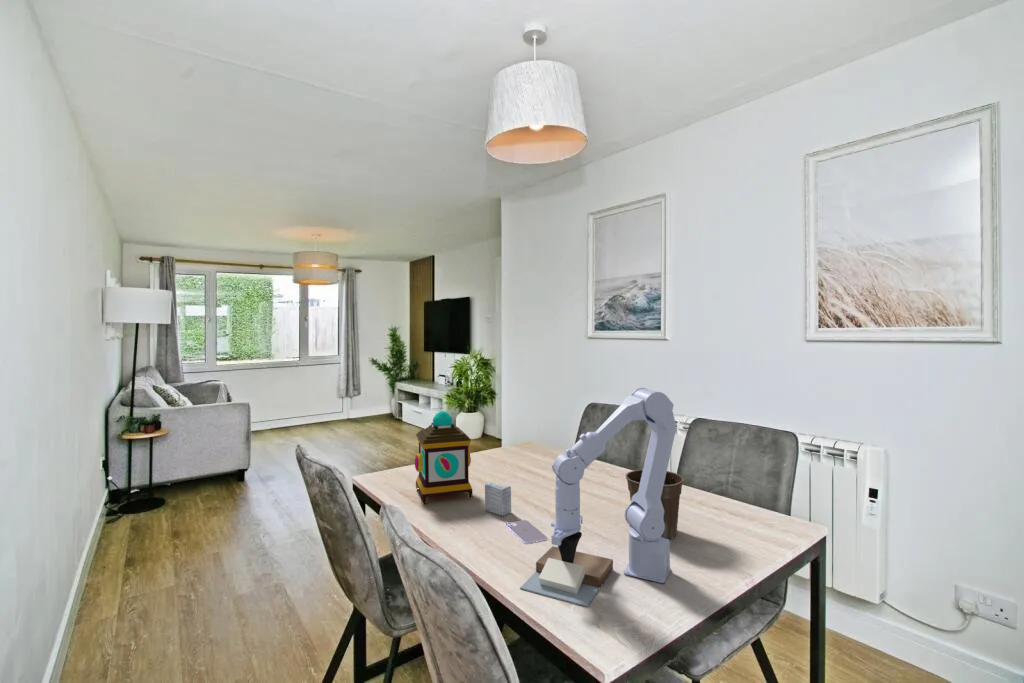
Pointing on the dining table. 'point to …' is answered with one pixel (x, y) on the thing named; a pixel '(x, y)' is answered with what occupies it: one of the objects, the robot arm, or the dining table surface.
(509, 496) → the stack of paper
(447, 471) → the decorative lantern
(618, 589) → the dining table surface
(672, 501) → the plant pot
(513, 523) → the mobile phone
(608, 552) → the dining table surface
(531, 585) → the slate mat
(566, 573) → the cream block
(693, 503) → the dining table surface
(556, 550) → the walnut board
